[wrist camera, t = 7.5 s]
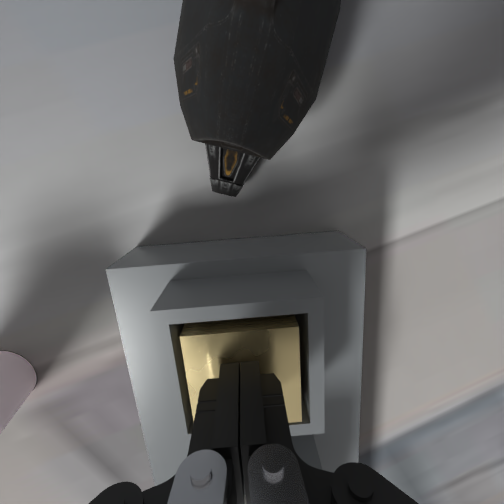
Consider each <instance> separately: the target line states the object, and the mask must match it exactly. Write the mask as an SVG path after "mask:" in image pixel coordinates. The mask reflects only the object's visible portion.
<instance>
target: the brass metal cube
mask: <svg viewBox="0 0 504 504" xmlns="http://www.w3.org/2000/svg"><path fill="white" fill-rule="evenodd" d="M180 342H181V348H182V354H183V360H184V366H185V372H186V378H187V384H188V391H189V397H190V403H191V409H192V415H193V421H194V418H195V414H196V407H197V404H198V396H199V391H200V388H201V387H202V386H203V384H204V383H205V381H206V380H207V379H212V378H219V371H220V364H222V363H234V362H239V364H240V363H241V362H244V361H256V360H259V368H260V374H269V373H274V374H275V375H276V377H277V378H278V379H279V381H280V382H281V385H282V391H283V396H284V401H285V407H286V412H287V417H288V423H291V422H302V408H301V377H300V346H299V326H298V323H297V320H296V317H295V315H294V314H290V315H278V316H266V317H254V318H242V319H230V320H218V321H206V322H194V323H185V324H184V327H183V329H182V332H181V335H180Z"/></svg>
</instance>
